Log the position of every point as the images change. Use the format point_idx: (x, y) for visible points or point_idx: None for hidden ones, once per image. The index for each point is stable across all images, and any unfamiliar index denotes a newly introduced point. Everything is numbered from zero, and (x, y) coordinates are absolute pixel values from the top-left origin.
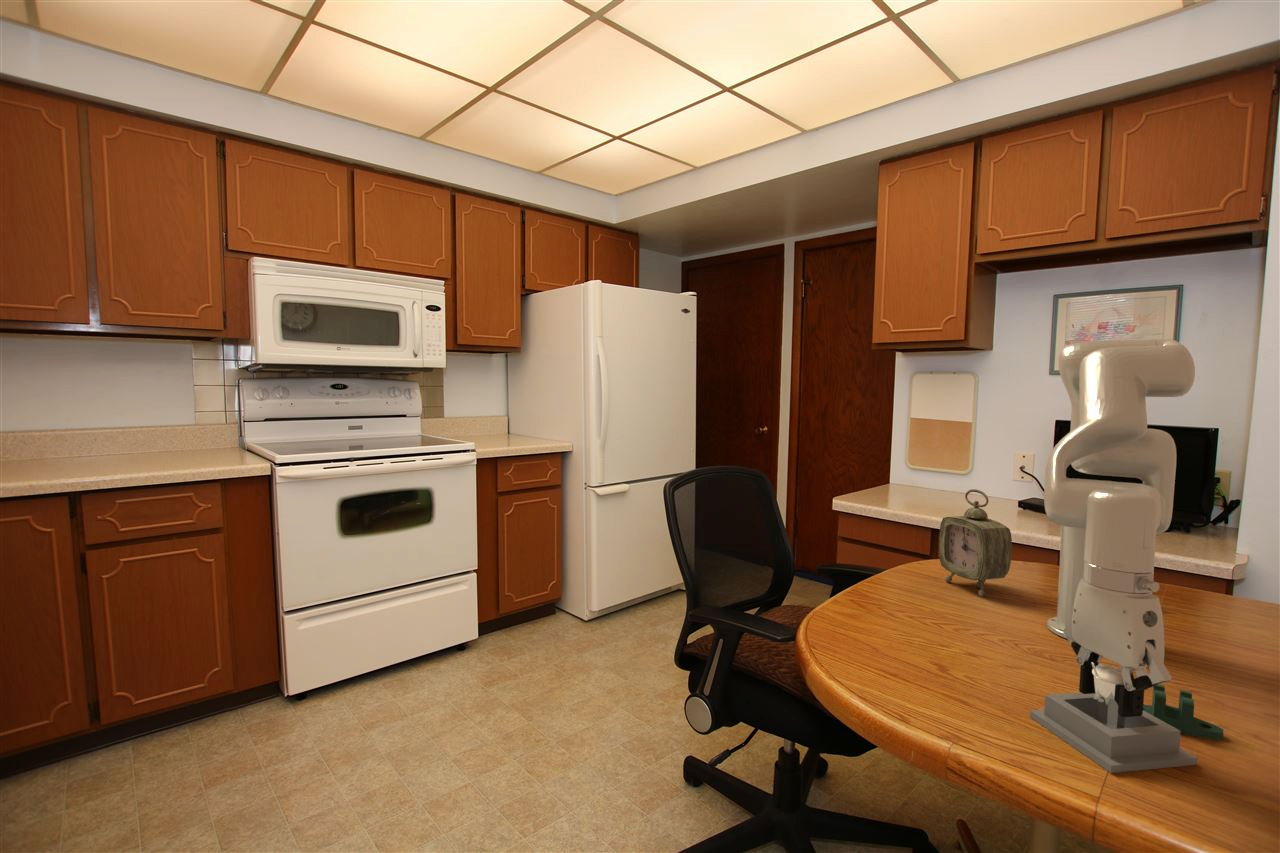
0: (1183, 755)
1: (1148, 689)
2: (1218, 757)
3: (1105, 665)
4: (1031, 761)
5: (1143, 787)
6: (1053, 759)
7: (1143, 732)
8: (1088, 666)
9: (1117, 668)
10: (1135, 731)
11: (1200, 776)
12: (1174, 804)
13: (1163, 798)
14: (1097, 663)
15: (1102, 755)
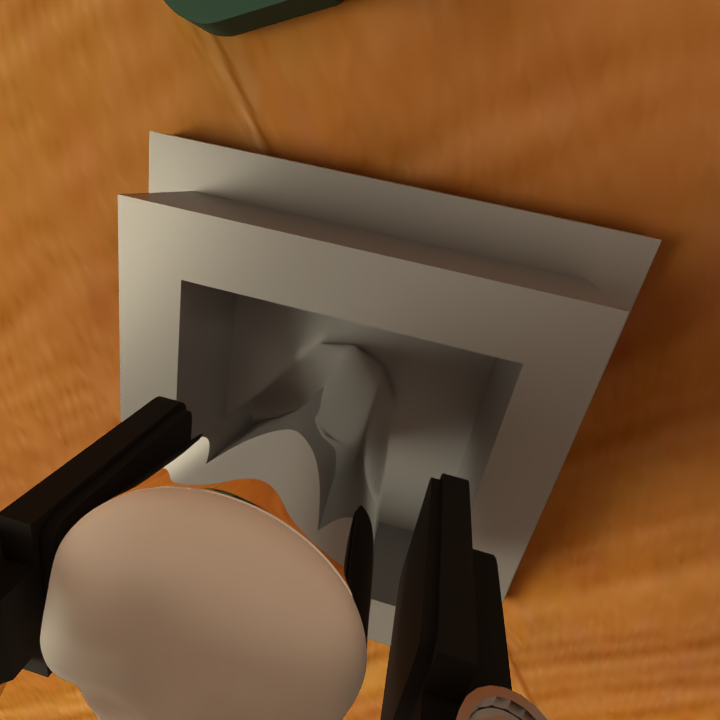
0: (611, 289)
1: (540, 716)
2: (690, 5)
3: (77, 668)
4: (356, 705)
5: (588, 588)
6: (371, 656)
7: (520, 526)
8: (36, 650)
9: (147, 625)
10: (495, 549)
11: (690, 326)
12: (691, 599)
13: (654, 595)
14: (3, 600)
15: None
